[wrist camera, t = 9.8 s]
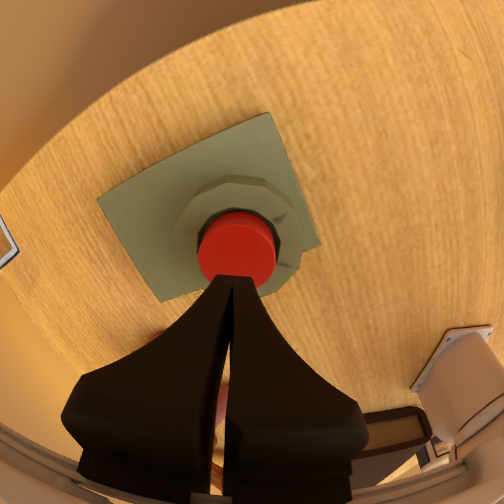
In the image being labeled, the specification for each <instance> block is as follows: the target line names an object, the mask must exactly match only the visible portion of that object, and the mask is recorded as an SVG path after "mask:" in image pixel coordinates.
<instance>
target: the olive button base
mask: <svg viewBox="0 0 504 504" xmlns="http://www.w3.org/2000/svg"><path fill="white" fill-rule="evenodd" d="M97 202H98V203H99V205H100V207H101V209H102V211H103V212H104V214H105V216H106V218H107V220H108V221H109V223H110V225H111V227H112V228H113V230H114V232H115V233H116V235H117V237H118V238H119V240H120V242H121V243H122V245H123V247H124V248H125V250H126V252H127V253H128V255H129V256H130V258H131V260H132V261H133V263H134V264H135V266H136V268H137V269H138V271H139V272H140V274H141V275H142V277H143V278H144V280H145V281H146V283H147V284H148V286H149V287H150V289H151V290H152V292H153V293H154V295H155V296H156V298H157V299H158V301H159V302H160V303H162V302H165V301H168V300H171V299H174V298H176V297H179V296H182V295H185V294H188V293H191V292H194V291H197V290H199V289H204V290H205V289H206V288H207V287H208V285H209V284H210V283H211V282H209V281H208V280H207V279H206V277H205V276H204V275H203V273H202V271H201V269H200V266H199V262H198V251H199V247H200V245H201V242H202V239H203V237H204V234H205V232H206V230H207V228H208V226H209V225H210V224H211V222H212V221H214V220H215V219H216V218H217V217H219V216H221V215H223V214H226V213H229V212H236V211H239V212H247V213H250V214H253V215H255V216H257V217H259V218H260V219H261V220H263V221H264V222H265V223H266V224H267V226H268V227H269V228H270V230H271V232H272V235H273V239H274V246H275V253H276V264H275V268H274V271H273V273H272V275H271V276H270V278H269V279H268V280H267V281H266V282H265V283H264V284H263V285H261V286H260V287H258V288H256V290H257V292H258V294H259V297H263V296H266V295H269V294H272V293H274V292H277V291H278V290H279V289H280V288H281V287H282V286H283V285H284V284H285V283H286V282H287V281H288V280H289V278H290V277H291V276H292V275H293V274H294V273H295V272H296V271H297V270H298V269H299V265H300V261H301V256H302V252H305V251H307V250H310V249H313V248H316V247H318V246H320V245H321V243H320V240H319V237H318V234H317V231H316V228H315V226H314V223H313V220H312V217H311V214H310V212H309V209H308V206H307V204H306V201H305V198H304V195H303V193H302V190H301V188H300V185H299V182H298V180H297V177H296V175H295V172H294V170H293V167H292V164H291V162H290V159H289V157H288V155H287V152H286V150H285V147H284V145H283V142H282V140H281V138H280V135H279V133H278V131H277V128H276V126H275V124H274V121H273V119H272V117H271V114H270V112H266V113H264V114H261V115H258V116H256V117H253V118H251V119H249V120H246V121H244V122H241V123H239V124H237V125H234V126H232V127H230V128H227V129H225V130H223V131H220V132H218V133H216V134H214V135H212V136H210V137H207V138H205V139H203V140H201V141H199V142H197V143H195V144H193V145H191V146H189V147H187V148H185V149H183V150H181V151H179V152H177V153H175V154H173V155H171V156H169V157H167V158H165V159H163V160H161V161H159V162H158V163H156V164H154V165H152V166H150V167H148V168H147V169H145V170H143V171H141V172H140V173H138V174H136V175H134V176H133V177H131V178H129V179H128V180H126V181H124V182H122V183H121V184H119V185H117V186H116V187H114V188H113V189H111V190H109V191H108V192H106V193H105V194H103V195H101V196H100V197H98V198H97Z"/></svg>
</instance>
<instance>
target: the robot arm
mask: <svg viewBox="0 0 504 504" xmlns="http://www.w3.org/2000/svg"><path fill="white" fill-rule="evenodd" d="M493 330H494V327H493V326H492V325H491V326H482V327H473V328H463V329H452V330H449V331H447V333H446V334H445V336H444V338H443V339H442V341H441V343H440V345H439V346H438V348H437V350H436V351H435V353H434V355H433V356H432V358H431V359H430V361H429V362H428V364H427V366H426V367H425V369H424V370H423V372H422V373H421V375H420V376H419V378H418V379H417V380H416V382H415V383H414V385H413V386H412V388H411V389H410V391H411V393H416V392H417V393H418V396H419V398H420V401H421V403H422V405H423V408H424V410H425V413H426V415H427V418H428V420H429V423H430V426H431V428H432V430H433V432H434V433H435V435H436V436H437V437H438V438H439V439H441V440H442V441H444V442H447V443H455V444H454V445H453V446H452V447H451V450H450V454H449V463H448V464H446V465H443V466H441V467H438V468H435V469H432V470H429V471H426V472H423V473H420V474H417V475H414V476H411V477H408V478H404V479H400V480H397V481H393V482H389V483H385V484H381V485H376V486H371V487H367V488H362V489H356V490H351V485H350V479H349V476H351V475H352V473H353V471H352V465H351V462H352V461H353V460H354V459H355V458H356V457H357V456H358V455H359V453H360V452H361V451H362V450H363V449H364V448H365V447H366V445H367V444H368V442H369V433H368V429H367V425H366V422H365V419H364V417H363V414H362V412H361V410H360V407H359V405H358V403H357V402H356V401H355V400H353V399H352V398H350V397H349V396H347V395H346V394H344V393H343V392H341V391H340V390H338V389H337V388H335V387H334V386H332V385H331V384H330V383H328V382H327V381H326V380H325V379H323V378H322V377H321V376H320V375H318V374H317V373H316V372H315V371H314V370H313V369H312V368H311V367H310V366H309V365H308V364H307V363H306V362H305V361H304V360H303V359H302V358H301V357H300V356H299V355H298V354H297V353H296V352H295V351H294V350H293V348H292V347H291V346H290V345H289V344H288V342H287V341H286V340H285V339H284V337H283V336H282V335H281V333H280V332H279V330H278V329H277V327H276V326H275V324H274V323H273V321H272V320H271V318H270V316H269V314H268V313H267V311H266V309H265V307H264V305H263V303H262V301H261V299H260V297H259V294H258V292H257V290H256V287H255V284H254V280H253V279H252V277H247V276H234V275H223V274H217V275H216V276H215V277H214V278H213V280H212V281H211V283H210V284H209V285H208V287H207V288H206V289H205V291H204V292H203V293H202V294H201V296H200V297H199V298H198V299H197V300H196V301H195V302H194V304H193V305H192V306H191V307H190V308H189V309H188V310H187V311H186V312H185V313H184V314H183V315H182V316H181V317H180V318H179V319H178V320H177V321H176V322H174V323H173V324H172V325H171V326H170V327H169V328H167V329H166V330H165V331H164V332H163V333H161V334H160V335H159V336H157V337H156V338H154V339H153V340H152V341H150V342H149V343H147V344H146V345H144V346H143V347H141V348H140V349H138V350H136V351H135V352H133V353H131V354H129V355H127V356H125V357H123V358H121V359H120V360H118V361H115V362H113V363H111V364H109V365H107V366H104V367H102V368H99V369H97V370H94V371H92V372H89V373H86V374H84V375H82V376H81V377H80V379H79V381H78V382H77V384H76V385H75V387H74V389H73V390H72V393H71V394H70V396H69V399H68V401H67V403H66V405H65V407H64V409H63V412H62V414H61V421H62V423H63V425H64V427H65V428H66V430H67V431H68V432H69V433H70V434H71V436H72V437H73V438H74V439H75V440H76V441H77V442H78V444H79V445H80V446H81V447H82V448H83V452H82V455H81V458H80V461H79V462H77V461H74V460H72V459H70V458H67V457H65V456H62V455H60V454H58V453H56V452H54V451H51V450H49V449H47V448H45V447H43V446H41V445H39V444H37V443H35V442H33V441H32V440H30V439H28V438H25V437H24V436H22V435H21V434H19V433H17V432H15V431H14V430H12V429H10V428H8V427H7V426H5V425H4V424H2V423H0V499H1V500H3V501H4V502H5V503H6V504H113V503H111V502H110V501H109V500H108V499H107V498H106V497H103V496H101V495H98V494H96V493H94V492H92V491H89V490H87V489H85V488H88V489H90V490H93V491H96V492H98V493H101V494H104V495H107V496H110V497H113V498H116V499H119V500H123V501H126V502H129V503H133V504H504V368H503V366H502V365H501V363H500V362H499V360H498V359H497V357H496V356H495V354H494V353H493V351H492V350H491V348H490V347H489V345H488V344H487V343H486V342H487V340H488V338H489V337H490V335H491V334H492V332H493ZM229 342H230V378H229V388H228V397H227V406H226V415H225V446H224V466H223V496H220V495H211V494H210V485H211V470H212V457H213V445H214V433H215V422H216V412H217V402H218V394H219V388H220V384H221V379H222V374H223V369H224V365H225V360H226V355H227V351H228V346H229ZM79 485H80V486H79ZM81 486H83V487H85V488H83V487H81Z"/></svg>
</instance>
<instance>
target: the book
mask: <svg viewBox="0 0 504 504" xmlns="http://www.w3.org/2000/svg"><path fill="white" fill-rule="evenodd" d="M363 417H364V419H365V422H366V425H367V429H368V433H369V442H368V444H367V445H366V447H365V448H364V449H363V450H362V451H361V452H360V453H359V455H358V456H357V457H356V458H355V459H354V460H353V461H352V462H351V465H352V471H353V473H352V475H351V476H349V479H350V485H351V490H356V489H362V488H367V487H371V486H375V485H377V484H378V483H380V482H381V481H382V480H384V479H385V478H386V477H388V476H389V475H390V474H391V473H393V472H394V471H395V470H396V469H398V468H399V467H400V466H401V465H403V464H404V463H405V462H406V461H407V460H409V459H410V458H411V457H412V456H413V455H414V454H415V453H417V452H418V451H419V450H420V449H421V448H422V447H423V446H424V445H425V444H426V443H427V442H428V441H429V440H430V439H431V437H432V435H433V433H432V428H431V426H430V423H429V420H428V418H427V415H426V413H425V412H424V410H422V409H420V408H418V407H408V408H403V409H397V410H392V411H386V412H380V413H374V414H367V415H363Z"/></svg>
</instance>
